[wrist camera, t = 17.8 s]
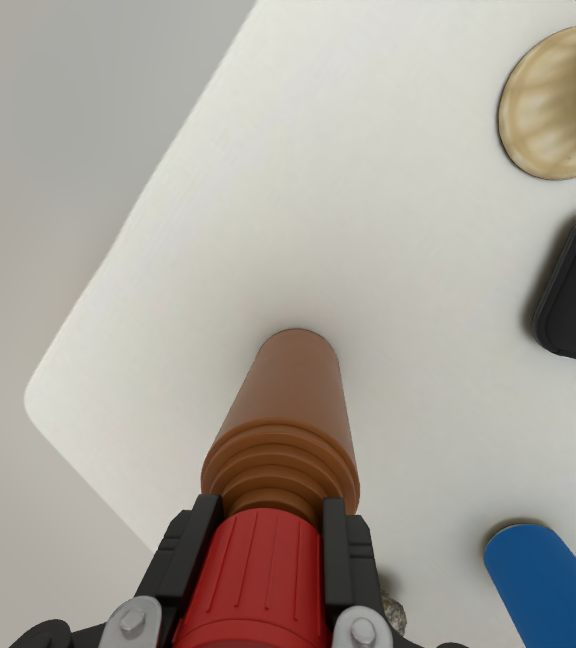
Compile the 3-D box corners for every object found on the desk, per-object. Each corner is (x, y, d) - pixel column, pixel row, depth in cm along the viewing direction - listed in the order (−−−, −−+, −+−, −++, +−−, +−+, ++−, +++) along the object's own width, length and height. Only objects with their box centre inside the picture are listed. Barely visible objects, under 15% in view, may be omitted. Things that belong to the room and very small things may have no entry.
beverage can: (464, 541, 31) (552, 729, 19) (531, 503, 30) (670, 682, 18) (507, 587, 32) (615, 792, 20) (574, 553, 30) (731, 753, 19)
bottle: (326, 416, 28) (346, 787, 9) (247, 395, 28) (106, 720, 9) (349, 341, 26) (431, 601, 8) (265, 319, 27) (142, 522, 8)
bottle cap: (181, 546, 11) (119, 686, 8) (277, 482, 11) (258, 606, 7) (260, 628, 12) (237, 792, 8) (359, 572, 11) (379, 730, 8)
